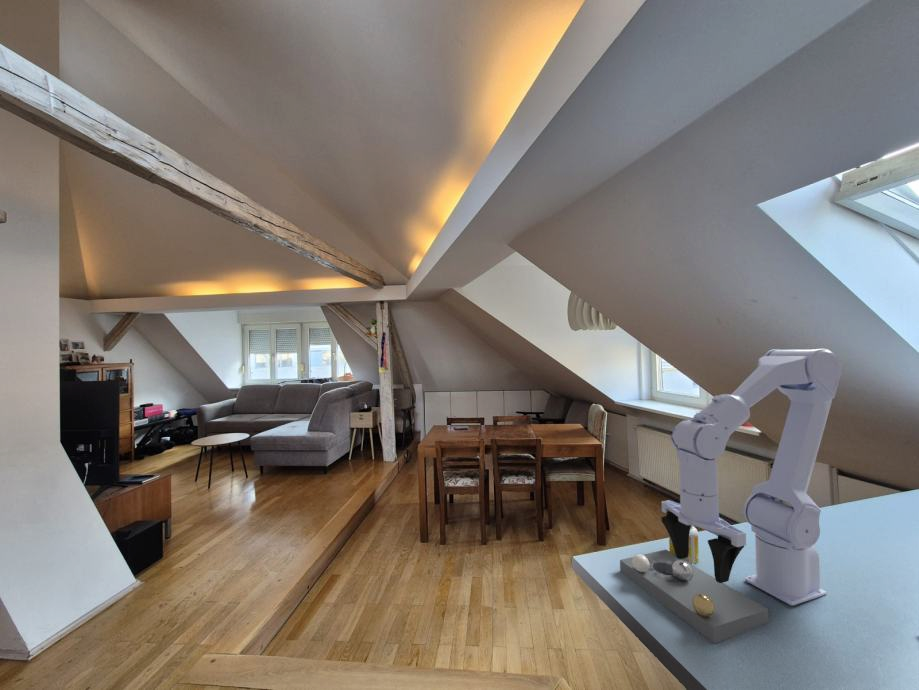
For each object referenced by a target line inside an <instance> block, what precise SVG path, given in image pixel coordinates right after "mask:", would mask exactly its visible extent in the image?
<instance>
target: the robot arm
mask: <svg viewBox="0 0 919 690" xmlns="http://www.w3.org/2000/svg"><path fill="white" fill-rule="evenodd" d="M842 372H843V367H842V365H841V363H840V362H839V360H838V358H837V356H836V355H835V353H834V352H832V350H829V349H827V348H816V349H779V348H773V349H770V350H767V352H766V353H765V354H764V355H763V356H761V357H759V358H758V361H757V367H756V369H755V370H754V371H753V372H751V374H749V376H748V377H747V378H745V380H744V381H743V382H742V383H741V384H740V385H739V386H738V387H737V388H736V389H735V390H734V391H733V392H732V393H731V394H727V393H724V394H719V395H718V394H717V395H716V394H715V396H713V397H712V398H711V402H710V403H709V404H707V405H706V406H705V407H704V408H703V409H701V411H699V412H696V413H695V414H694V415H693V417H692V418H691V419H689V420H688V419H686V420H685V419H684V420H682V421H680V422H679V423H678V424H676V426H674V427H673V430H672V434H671V435H669V439H670V443H671V444H672V446H673V447H674V449H675V451H676V458H677V459H678V469H679V470H678V471H679V473H678V474H679V498H680V499H679V503H678V502H675V501H673V500H670V499H668V500H662V501H661V512H662V513H665V516H662V517H661V523H662V524H663V526H664V528H665V529H666V531H667V533H668V537H669V536H670V538H671V541H672V544H673V547H674V550H675V554H676V557H677V558H678V559H683V558H687V557H688V553H689V533H690V528H691V525H694V527H698V528H700V529H703V530H704V531H707V532H708V533H711V534H713V535H715V536H717V538H712V539H708V540H707V544H708V546H709V549H710V551H711V554H712V555H711V556H712V561H713V569H714V571H713V572H714V578H715V579H716V581H717V582H719V583H726V582H729V580H730V575H731V573H732V568H733V566H734V563H735V561H736V559H737V558H738V556H739V554H740V553H741V552H742V550H743V549H744V548H745V546H747V536H746V535H747V533H746V532H744V531H742V530H740V529H738V528H737V527H735V526H733V525H732V524H730V523H729V522H727V521H726V520H724V519H723V518H721V517H720V509H719V507H720V505H719V504H720V503H719V482H718V481H719V480H718V479H719V478H718V458H719V456H722V455H723V454H724V453H725V450H726V447H727V442H728V441H729V440H730V436H731V435H732V434H733V433H734V432H735V431H736V430H738V429H739V428H740V427H741V426H742V425H744V424H745V423H746V422H747V421H748V420H749V419H750V417H751V411H750V408H751V407H753V406H755V405H756V404H757V403H759V402H760V401H761V400H762V399H764V398H765V397H767V396H768V395H769V394H771V393H772V392H773V391H774V390H776V389H778V391H779V392H781V393H782V394H783V395H785V396H787V397H788V399H789V401H790V406H789V410H788V413H787V416H786V419H785V424H784V426H783V431H782V433H781V437H780V440H779V443H778V447H777V451H776V455H775V458H774V462H773V464H772V468H771V472H770V475H769V479H768V480H766V481H764V482H761V483H758V484H756V485H754V486H753V487H752V492H751V494H749V495H750V496H748V498H747V499H746V500H745V502H744V504H743V507H742V509H743V512H742V513H743V518H744V519H745V521H746V522H747V523H748V524H749V525H751V532H753V533H754V537H755V538H754V542H755V543H754V544H755V569H756V570H755V573H756V574H755V573H754V574H752V575H749V576H744V581H745V582H747V583H749V584H751V585H752V586H755V587H756V588H759V589H760V590H762V591H763V592H765V593H767V594H769V595H771V596H773V597H775V598H776V599H778V600H780V601H782V602H783V603H785V604H787V605H789V606H796V605H798V604H802V603H805V602H807V601H811V600H814V599H816V598H817V599H818V598H819V597H823V596H826V595H827V591H826V590H824V589H823V588H821V577H820V575H821V573H820V572H821V571H820V568H821V567H820V556H819V553H818V550H817V549H816V547H815V544H816V543H817V542H818V540H819V538H820V534H821V528H820V526H821V525H820V515H821V514H822V513H821V512H822V511H821V508H820V507H819V506H818V505H817V504H816V503H815V501H813V499H812V498H811V497H810V496H809V495H808V492H807V491H808V489H809V485H810V481H811V478H812V475H813V471H814V467H815V464H816V460H817V456H818V453H819V449H820V446H821V441H822V438H823V435H824V432H825V428H826V423H827V420H828V416H829V414H830V409H831V406H832V402H833V399H835V398H836V394H837V389H838V385H839V382H840V381H841V380H840V379H841V375H842ZM778 500H782V501H784V502H787V503H788V504H786V503H783V502H781V501H778ZM789 504H791V505H789Z"/></svg>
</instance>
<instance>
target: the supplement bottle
mask: <svg viewBox="0 0 919 690" xmlns="http://www.w3.org/2000/svg"><path fill="white" fill-rule="evenodd" d="M689 534H690V535H689V553H688V557H687V558H683V560H685V561H687V562H688V563H690V564H695V565H697V564H698V563H699V562H698V561H699V559H700V558H699V532H698V529H697V528H696V526H694V525H691V528H690V533H689ZM668 543H669V545H668V546H669V550H668V551H669V552H671V553H673V554H675V550H674V547H673V544H672V541H671V538H670V536H669V535H668ZM675 555H676V554H675ZM696 563H697V564H696Z"/></svg>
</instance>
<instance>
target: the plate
mask: <svg viewBox="0 0 919 690" xmlns="http://www.w3.org/2000/svg"><path fill="white" fill-rule="evenodd" d="M643 555H644V556H645V557H646V558H647V559H648V561H649V564H650V566H649V569H648V570H647V571H646V572H640V571H638V570H636V569H635V568H634V566H633V563H632V559H633V557H634V556H631V557H627V558H622V559H620V560H619V571H620V573H621V574H623V575H624V576H625V577H627V578H628V579H629V580H630V581H632V582H633V583H634V584H636V585H637V586H638V587H640V589H642V590H643V591H644V592H646V593H647V594H648V595H650V596H651V597H652V598H653V599H654V600H656V601H657V602H659V603H660V604H661V605H663V606H664V607H665V608H666V609H668V610H669V611H671V612H672V613H673V614H674V615H676V616H677V617H678V618H680V619H681V620H682V621H684V622H685V623H686V624H688V625H689V626H690V627H692V628H693V629H694V630H696V631H697V632H698V633H699V634H701V635H702V636H703V637H705V638H706V639H707V640H709V642H711V643H713V644H718V643H720V642H723V641H727V640H729V639H733V638H734V637H736V636H739V635H742V634H745V633H746V632H749V631H751V630H753V629H756V628H758V627H761V626H764V625H765V624H768V623H769V622H770V621H769V608H767V607H765V606H764V605H762V604H760V603H758V602H757V601H755V600H753V599H751V598H750V597H748V596H746V595H745V594H743V593H742V592H739V591H738V590H736V589H734V588H732V587H731V586H730V585H727V584H726V583H725V582H723V583H719V582H717V581H716V579H715V576H712V575H711V574H709V573H707V572H705V571H703V570H702V569H700V568H698V567H697V566H696V565H692V564H690V563H688V562H687V561H685V560H683V559H678V558H677V557H676V555H675V554H673V553H671V552H670V550H668V549H662V550H658V551H653V552H648V553H643ZM678 560H681V561H684V562H686V563H687V564H688V565H689V566H690V568H691V570H692V576H691V578H690V579H688V580H680V579H678V578H677V577H676V576H675V575H674V573H673V571H672V565H673V563H674V562H675V561H678ZM667 573H668V575H667ZM670 574H671V575H670ZM698 594H703V595H706V596H707V597H709V598H710V599H711V600H712V602H713V604H714V607H715V611H714V614H713V615H712V616H710V617H704V616H701V615H700V614H698V613H697V612H696V611H695V609H694V607H693V603H692V601H693V598H694V596H696V595H698Z"/></svg>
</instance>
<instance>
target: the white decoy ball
mask: <svg viewBox="0 0 919 690" xmlns="http://www.w3.org/2000/svg"><path fill="white" fill-rule="evenodd" d="M632 557H633V559H632V563H633V566H634V568H635V569H636V570H638V571H640V572H646V571H647V570H648V569H649V566H650V564H649V561H648V559H647V558H646V557H645V556H644V554H641V553H637V554H635V555H634V556H632Z"/></svg>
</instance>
